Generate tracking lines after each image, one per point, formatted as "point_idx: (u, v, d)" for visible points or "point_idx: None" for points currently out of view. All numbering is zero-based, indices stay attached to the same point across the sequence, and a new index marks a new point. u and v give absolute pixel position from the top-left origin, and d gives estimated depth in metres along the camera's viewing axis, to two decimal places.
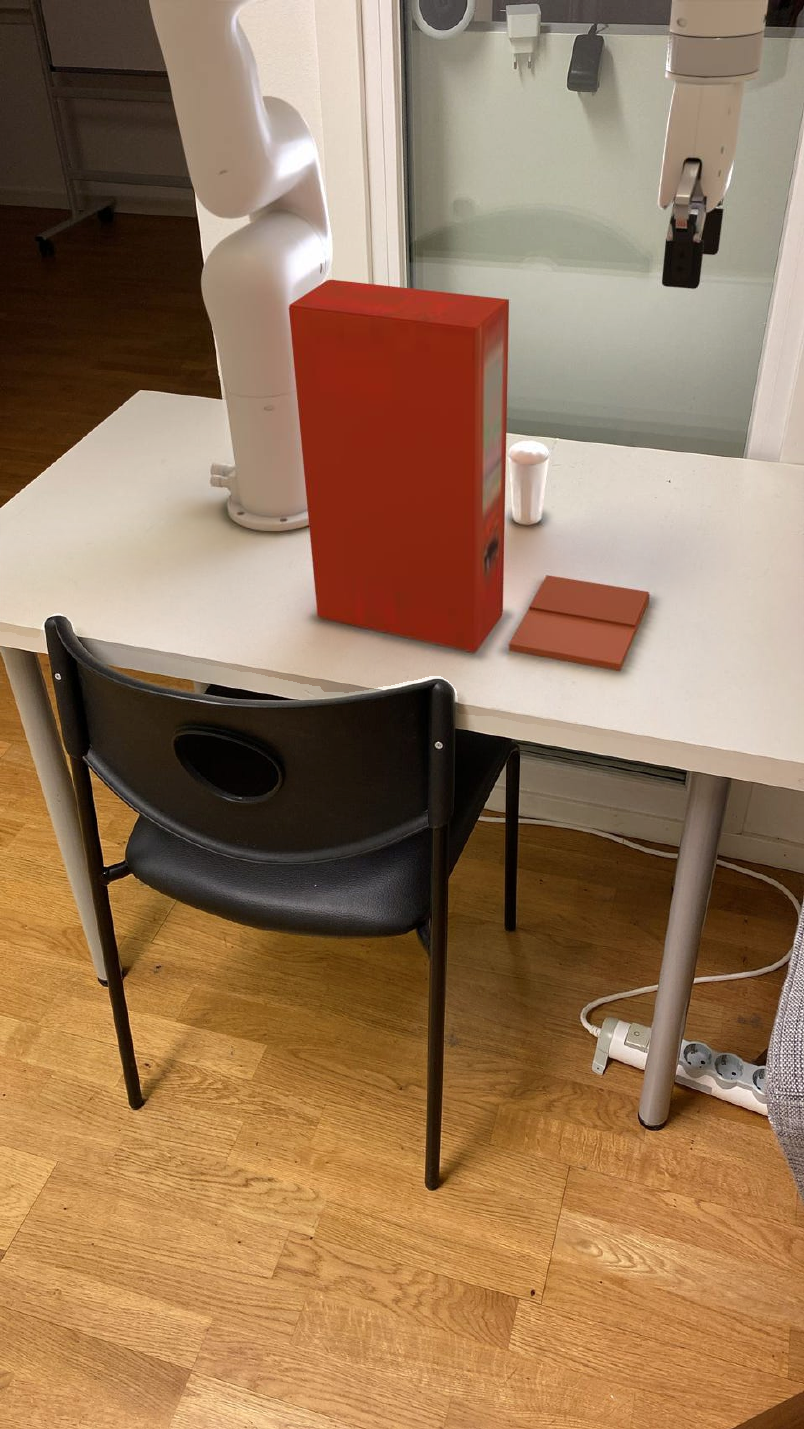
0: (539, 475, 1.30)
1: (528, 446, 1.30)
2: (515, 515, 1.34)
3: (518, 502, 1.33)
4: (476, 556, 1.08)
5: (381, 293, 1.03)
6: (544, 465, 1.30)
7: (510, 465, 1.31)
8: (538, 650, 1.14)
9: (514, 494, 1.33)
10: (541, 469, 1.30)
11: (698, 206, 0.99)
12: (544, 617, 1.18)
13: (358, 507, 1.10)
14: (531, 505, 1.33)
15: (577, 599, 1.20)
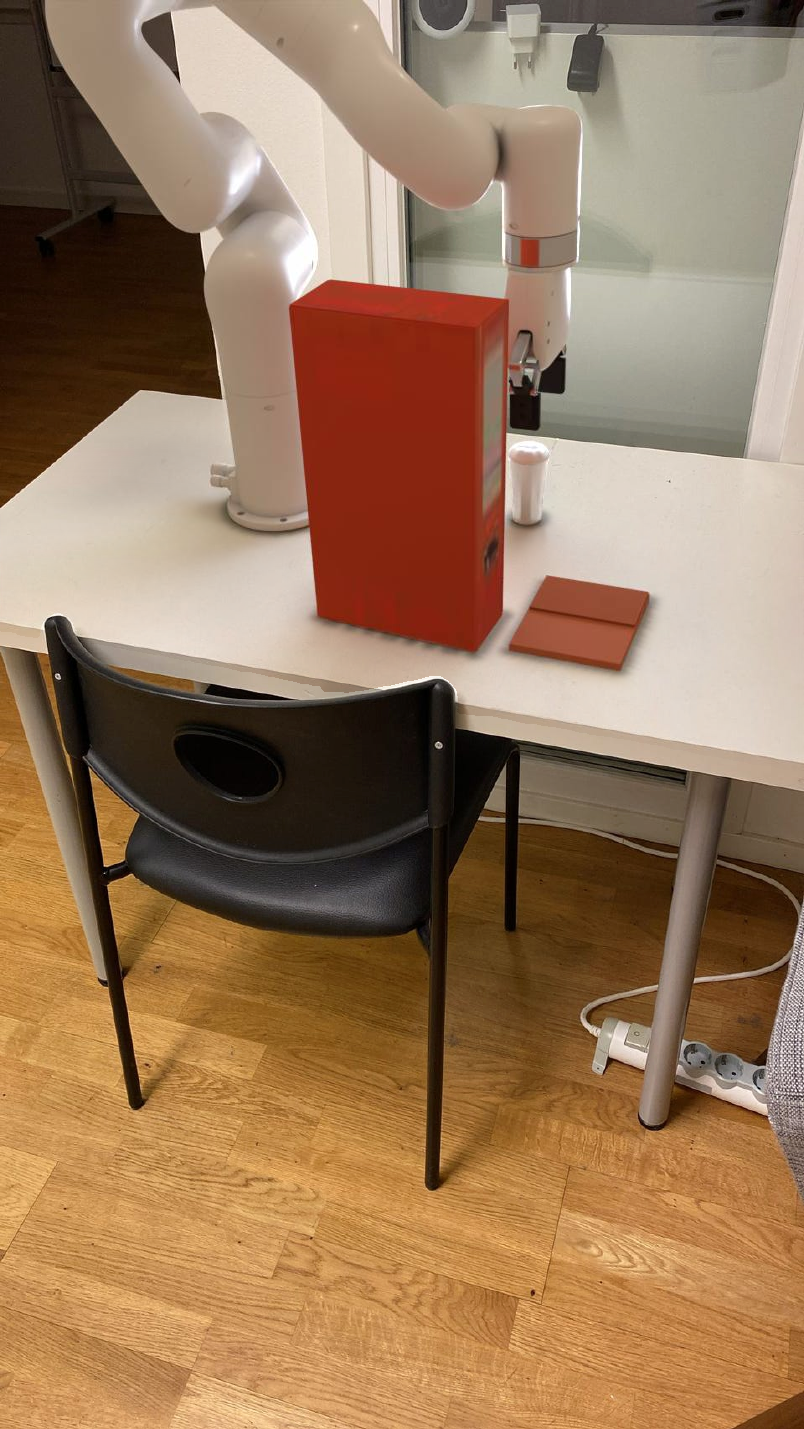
0: (539, 475, 1.30)
1: (528, 446, 1.30)
2: (515, 515, 1.34)
3: (518, 502, 1.33)
4: (476, 556, 1.08)
5: (382, 292, 1.03)
6: (544, 465, 1.30)
7: (510, 465, 1.31)
8: (538, 650, 1.14)
9: (514, 494, 1.33)
10: (541, 469, 1.30)
11: (533, 366, 1.20)
12: (544, 617, 1.18)
13: (358, 507, 1.10)
14: (531, 505, 1.33)
15: (577, 599, 1.20)
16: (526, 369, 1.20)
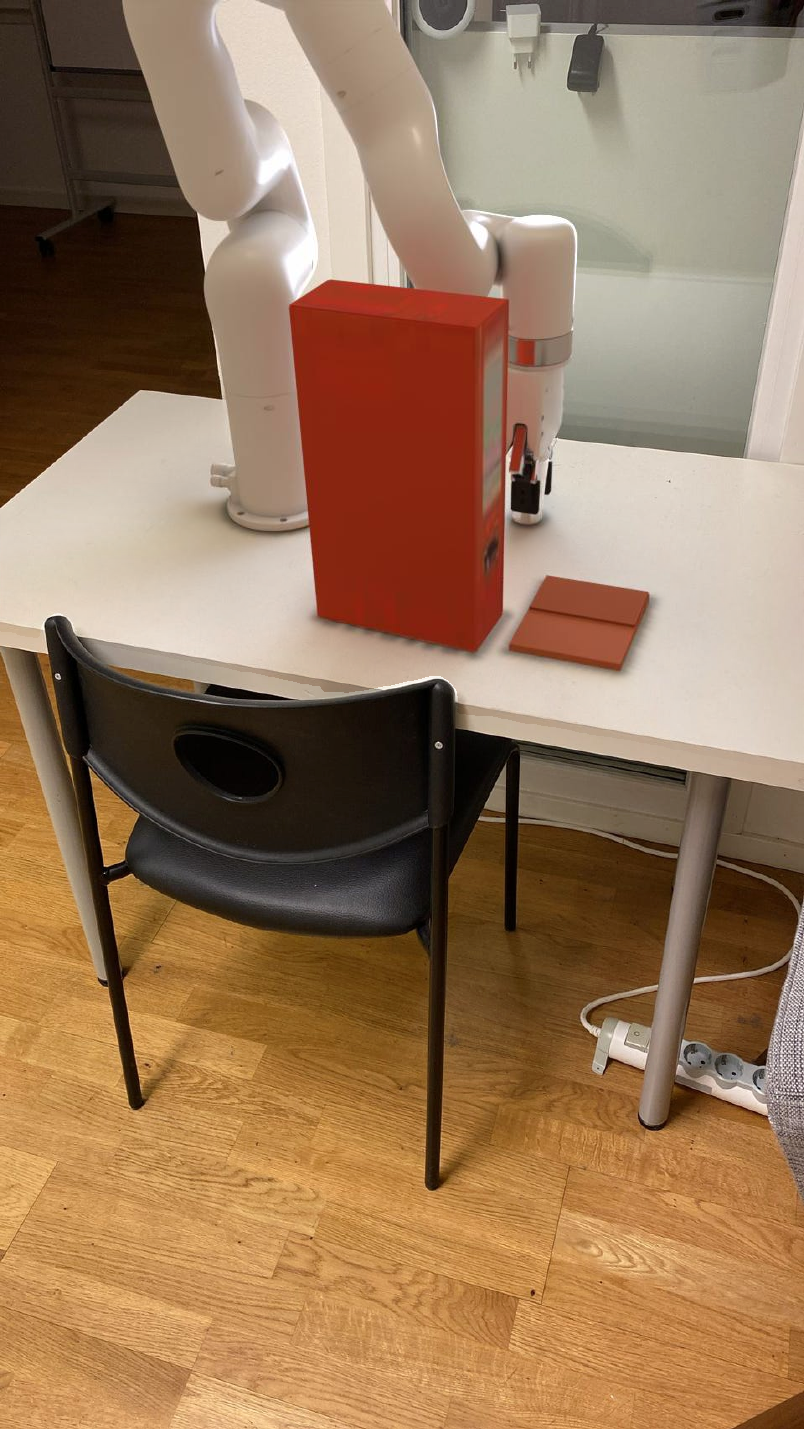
0: (539, 474, 1.30)
1: None
2: (515, 515, 1.34)
3: None
4: (476, 556, 1.08)
5: (382, 292, 1.03)
6: (544, 464, 1.30)
7: None
8: (538, 650, 1.14)
9: None
10: (541, 468, 1.30)
11: (531, 459, 1.27)
12: (544, 617, 1.18)
13: (358, 507, 1.10)
14: None
15: (577, 599, 1.20)
16: (524, 459, 1.28)
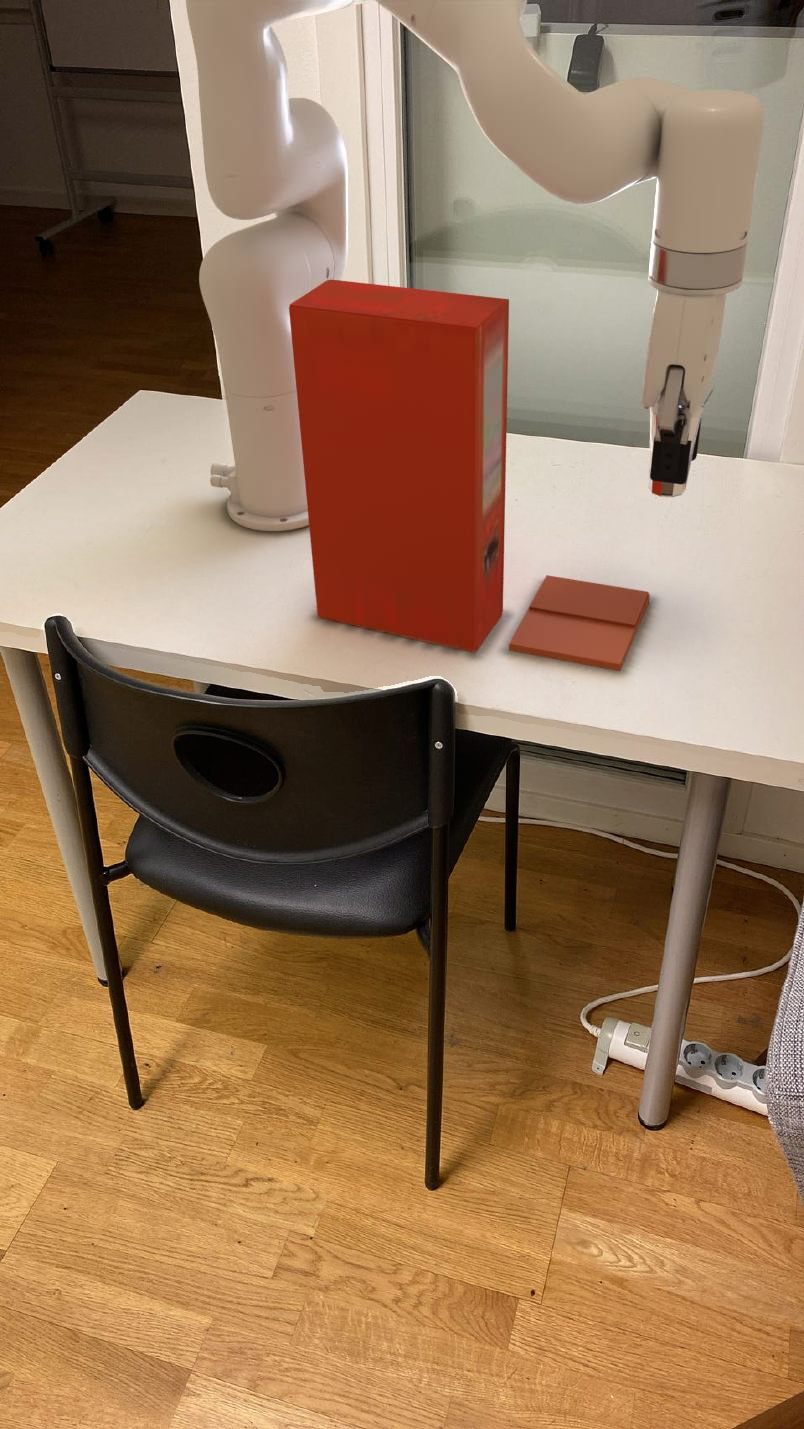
0: (689, 433, 1.03)
1: None
2: (654, 485, 1.07)
3: None
4: (476, 556, 1.08)
5: (382, 292, 1.03)
6: (697, 420, 1.03)
7: (652, 421, 1.03)
8: (538, 650, 1.14)
9: None
10: (693, 425, 1.03)
11: (683, 413, 1.00)
12: (544, 617, 1.18)
13: (358, 507, 1.10)
14: None
15: (577, 599, 1.20)
16: None
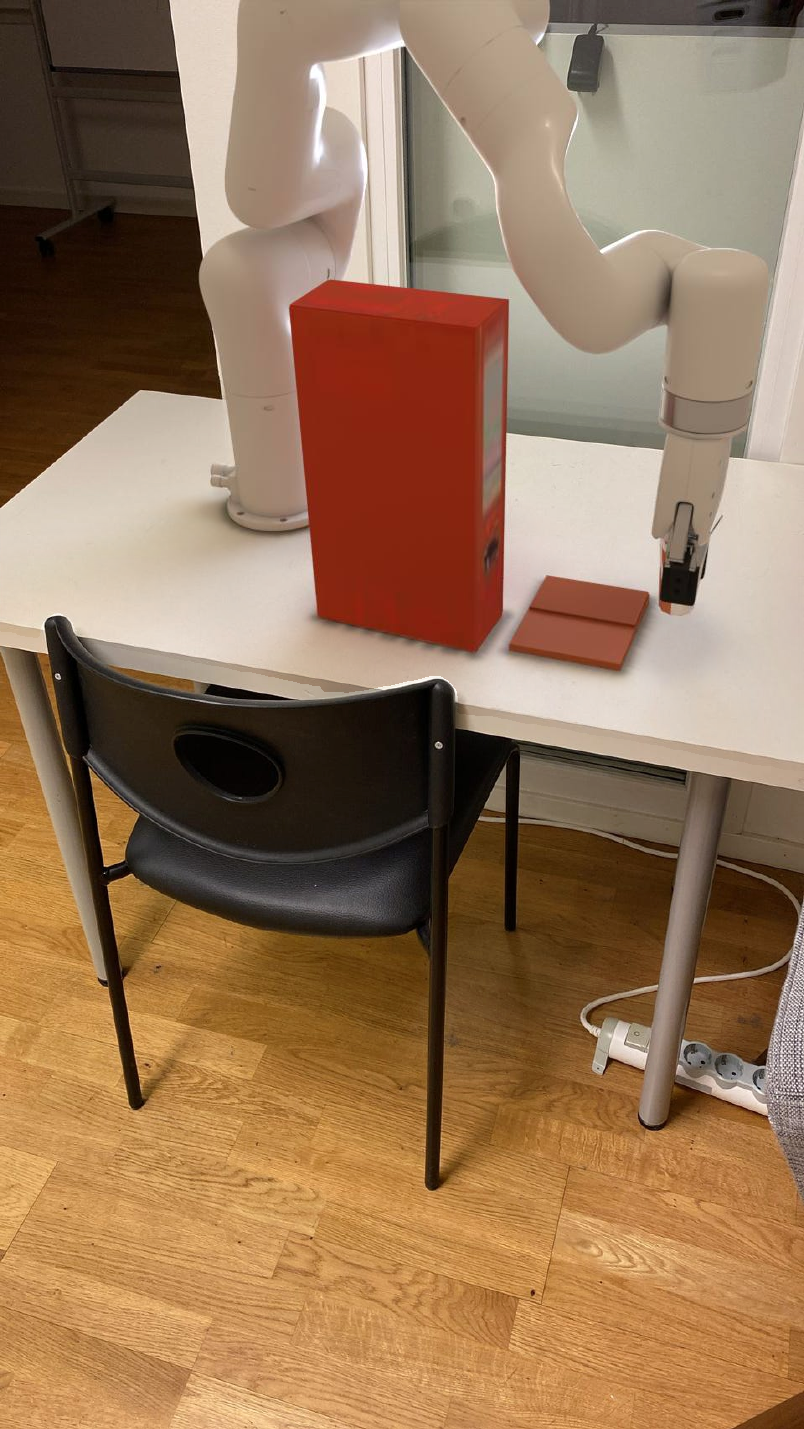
0: (698, 558, 1.07)
1: None
2: (663, 604, 1.11)
3: None
4: (476, 556, 1.08)
5: (382, 292, 1.03)
6: (705, 547, 1.07)
7: (662, 546, 1.08)
8: (538, 650, 1.14)
9: None
10: (701, 552, 1.07)
11: (692, 543, 1.04)
12: (544, 617, 1.18)
13: (358, 507, 1.10)
14: None
15: (577, 599, 1.20)
16: None
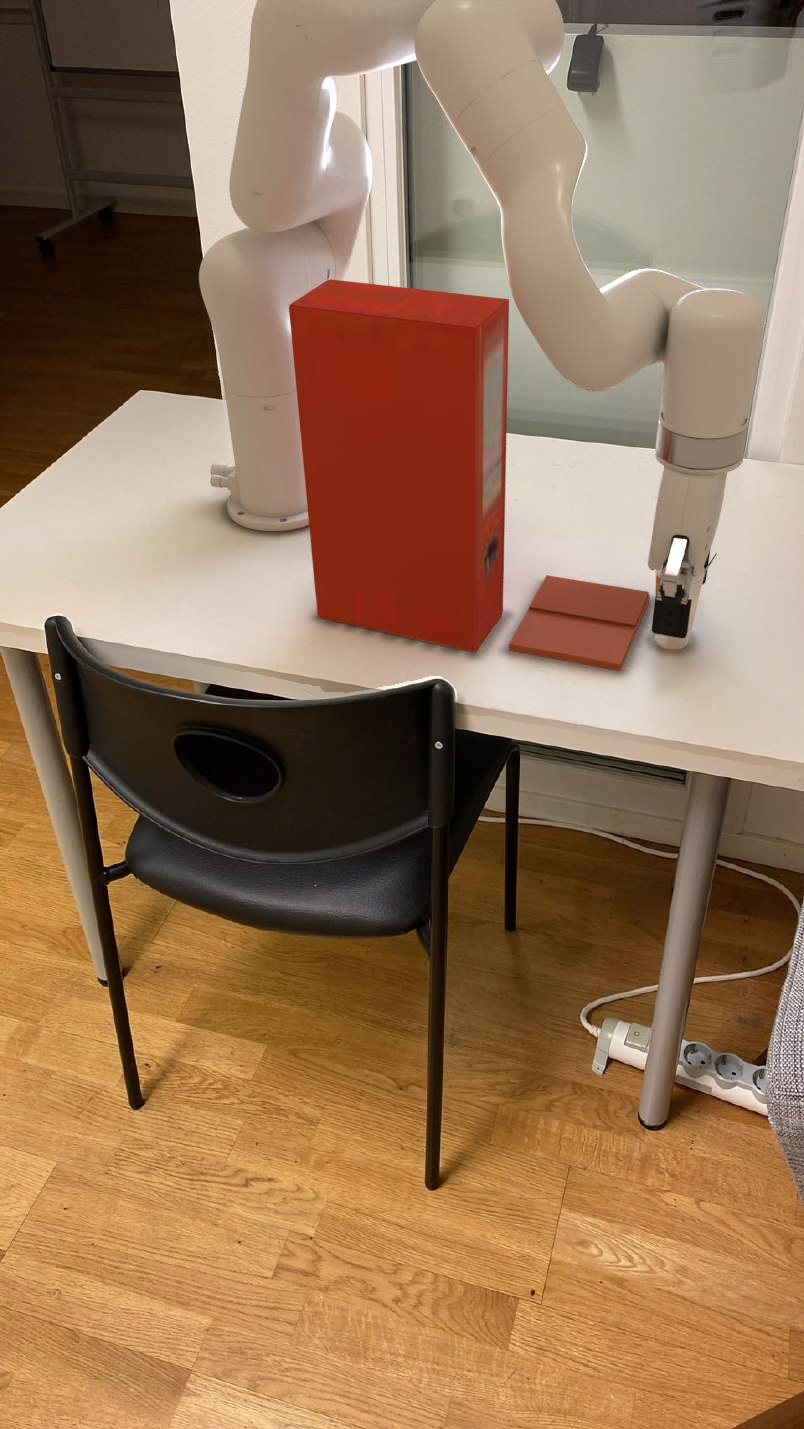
0: (692, 595, 1.10)
1: None
2: (659, 638, 1.14)
3: None
4: (476, 556, 1.08)
5: (382, 292, 1.03)
6: (699, 584, 1.09)
7: (658, 583, 1.10)
8: (538, 650, 1.14)
9: None
10: (696, 589, 1.09)
11: (686, 572, 1.05)
12: (544, 617, 1.18)
13: (358, 507, 1.10)
14: None
15: (577, 599, 1.20)
16: None
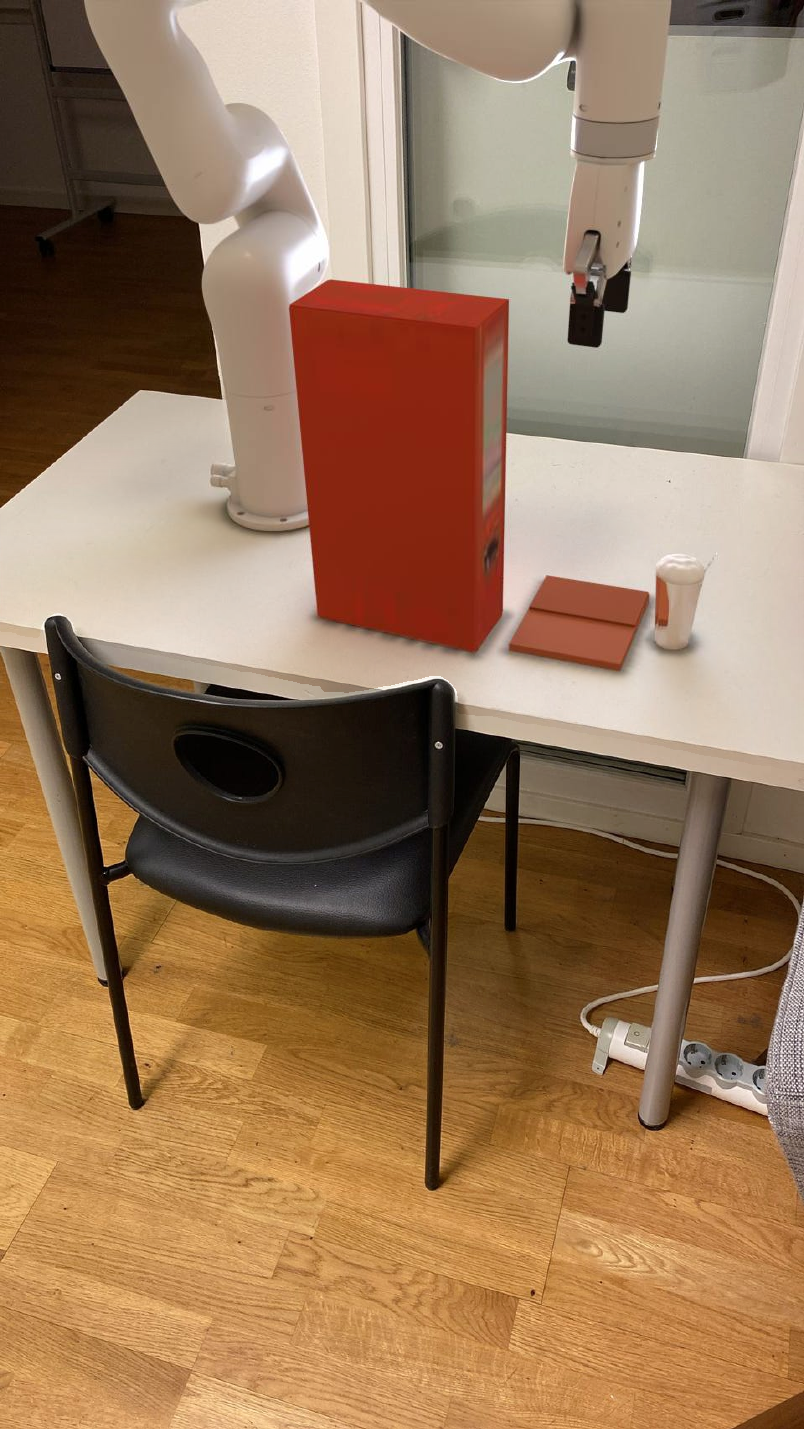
0: (692, 595, 1.10)
1: (681, 562, 1.09)
2: (659, 638, 1.14)
3: (664, 625, 1.12)
4: (476, 556, 1.08)
5: (382, 292, 1.03)
6: (699, 584, 1.09)
7: (658, 583, 1.10)
8: (538, 650, 1.14)
9: (660, 615, 1.12)
10: (696, 589, 1.09)
11: (599, 273, 1.07)
12: (544, 617, 1.18)
13: (358, 507, 1.10)
14: (680, 628, 1.12)
15: (577, 599, 1.20)
16: (590, 276, 1.08)
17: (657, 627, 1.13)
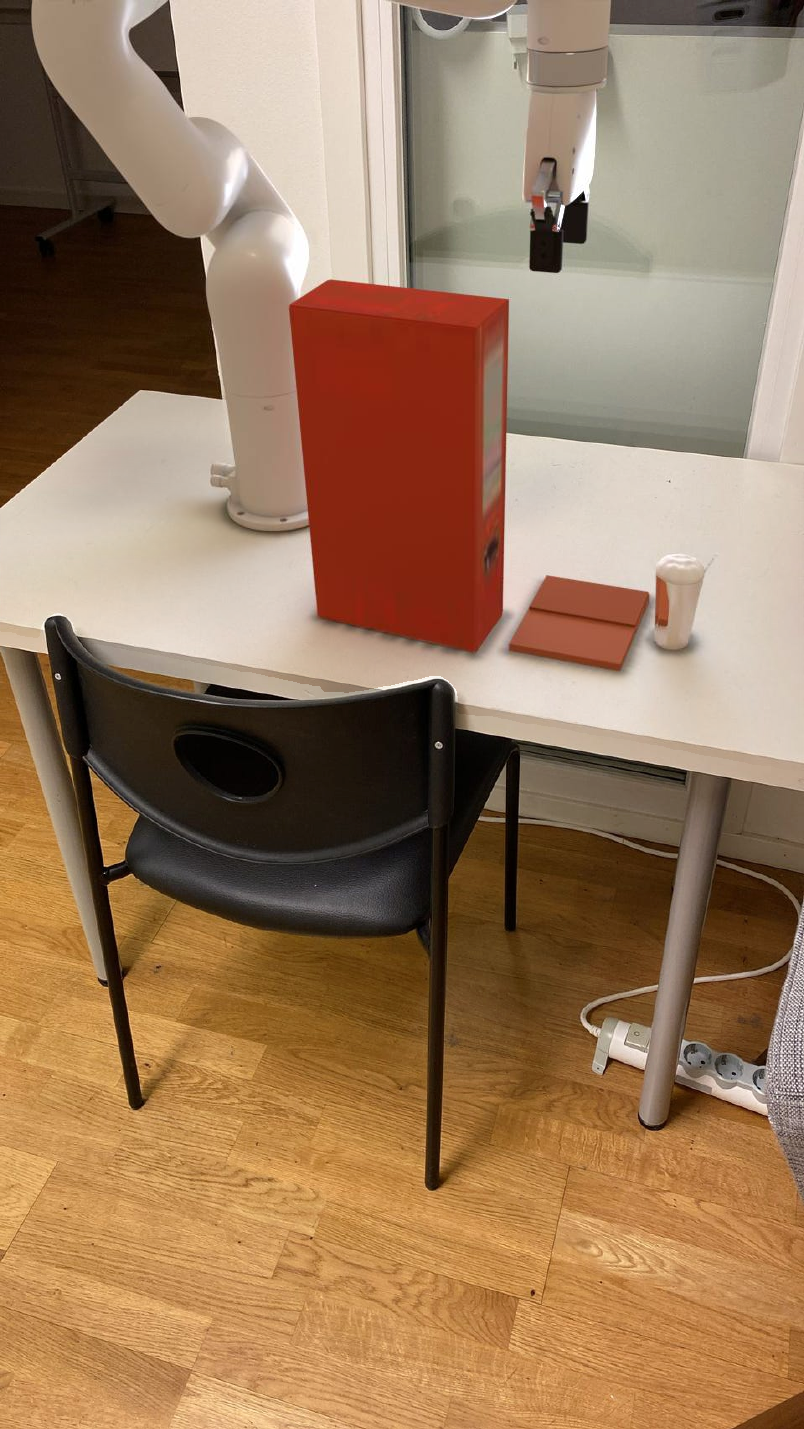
0: (692, 595, 1.10)
1: (681, 562, 1.09)
2: (659, 638, 1.14)
3: (664, 625, 1.12)
4: (476, 556, 1.08)
5: (382, 292, 1.03)
6: (699, 584, 1.09)
7: (658, 583, 1.10)
8: (538, 650, 1.14)
9: (660, 615, 1.12)
10: (696, 589, 1.09)
11: (556, 200, 1.13)
12: (544, 617, 1.18)
13: (358, 507, 1.10)
14: (680, 628, 1.12)
15: (577, 599, 1.20)
16: (548, 204, 1.14)
17: (657, 627, 1.13)
